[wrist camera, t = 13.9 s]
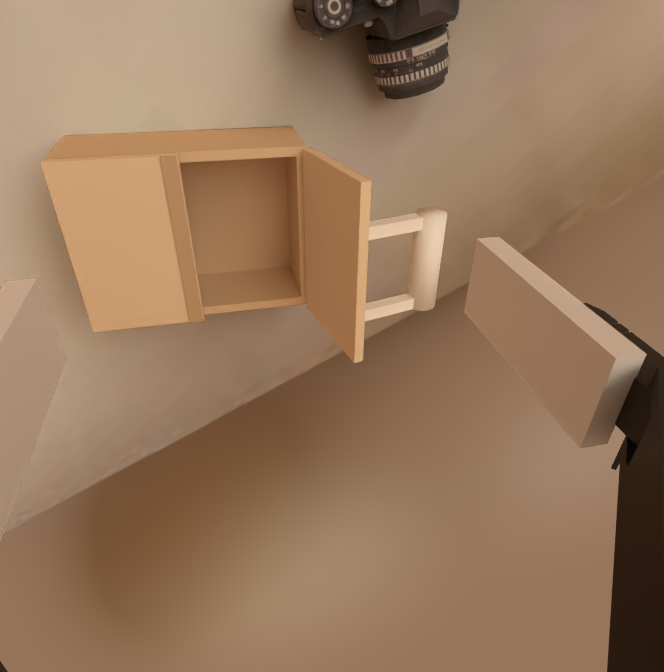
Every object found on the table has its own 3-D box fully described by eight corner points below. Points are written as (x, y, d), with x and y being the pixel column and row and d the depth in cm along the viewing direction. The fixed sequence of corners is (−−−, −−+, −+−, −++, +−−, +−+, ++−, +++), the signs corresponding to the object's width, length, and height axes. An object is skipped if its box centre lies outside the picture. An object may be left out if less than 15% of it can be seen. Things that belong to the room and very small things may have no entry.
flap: (362, 183, 33) (460, 168, 36) (302, 148, 41) (387, 138, 44) (355, 364, 41) (435, 340, 44) (306, 307, 49) (377, 290, 52)
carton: (65, 135, 44) (43, 158, 38) (291, 126, 48) (305, 145, 41) (107, 286, 52) (95, 326, 46) (296, 268, 56) (309, 303, 50)
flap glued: (42, 159, 38) (39, 163, 37) (178, 152, 39) (177, 156, 38) (94, 327, 46) (93, 333, 45) (204, 315, 48) (204, 321, 47)
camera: (322, 113, 48) (348, 137, 40) (283, -21, 41) (304, -25, 33) (462, 59, 48) (515, 72, 40) (444, -83, 41) (504, -102, 33)
